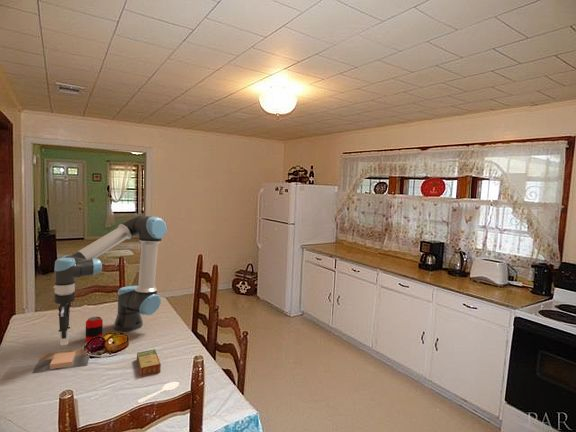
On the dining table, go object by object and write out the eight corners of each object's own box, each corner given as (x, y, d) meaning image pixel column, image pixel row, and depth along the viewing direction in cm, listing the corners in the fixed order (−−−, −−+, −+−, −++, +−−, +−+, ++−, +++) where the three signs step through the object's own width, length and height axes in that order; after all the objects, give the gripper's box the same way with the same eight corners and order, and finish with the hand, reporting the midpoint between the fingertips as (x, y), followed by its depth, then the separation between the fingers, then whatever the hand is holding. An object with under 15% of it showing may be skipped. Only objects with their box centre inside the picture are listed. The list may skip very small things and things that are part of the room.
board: (91, 350, 166) (91, 348, 166) (87, 368, 150) (87, 365, 150) (42, 356, 158) (42, 354, 158) (31, 376, 142) (31, 373, 142)
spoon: (134, 400, 130) (134, 399, 130) (174, 380, 144) (174, 379, 144) (141, 406, 126) (142, 404, 126) (182, 385, 141) (182, 384, 141)
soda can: (104, 341, 176) (104, 318, 176) (88, 345, 171) (88, 322, 170) (99, 336, 182) (99, 314, 181) (83, 340, 176) (83, 318, 175)
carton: (140, 377, 146) (140, 367, 146) (136, 360, 160) (136, 351, 159) (160, 372, 150) (161, 363, 150) (155, 357, 164) (155, 348, 164)
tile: (75, 351, 158) (71, 361, 149) (75, 355, 158) (71, 365, 149) (54, 354, 155) (50, 364, 146) (54, 358, 155) (50, 368, 146)
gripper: (57, 289, 156) (57, 339, 158) (51, 297, 145) (51, 351, 146) (76, 288, 159) (76, 337, 161) (72, 296, 148) (71, 349, 149)
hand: (64, 344), depth 153 cm, fingers closed
